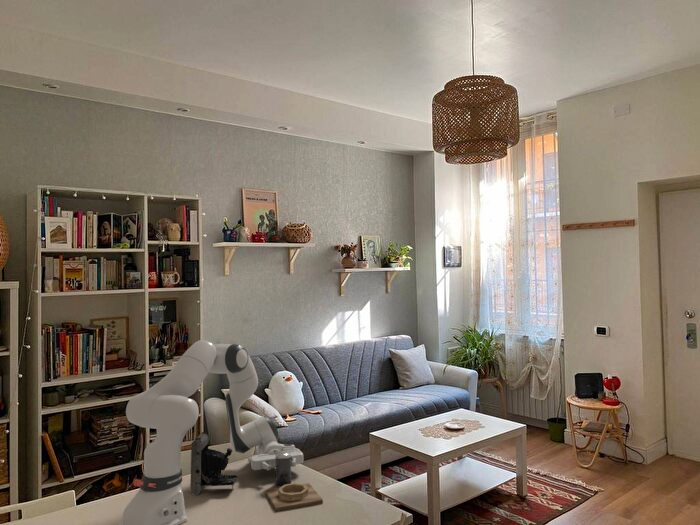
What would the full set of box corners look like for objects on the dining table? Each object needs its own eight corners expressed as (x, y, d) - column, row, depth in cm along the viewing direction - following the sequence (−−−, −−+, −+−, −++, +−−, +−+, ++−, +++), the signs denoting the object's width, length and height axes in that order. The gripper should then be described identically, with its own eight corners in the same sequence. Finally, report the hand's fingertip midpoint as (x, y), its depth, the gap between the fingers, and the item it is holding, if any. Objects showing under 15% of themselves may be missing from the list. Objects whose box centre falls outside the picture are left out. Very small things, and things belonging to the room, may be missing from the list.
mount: (322, 503, 180) (322, 493, 180) (276, 511, 174) (275, 501, 174) (309, 486, 195) (308, 477, 195) (265, 493, 189) (265, 484, 189)
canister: (286, 487, 194) (286, 457, 194) (272, 485, 196) (272, 455, 196) (294, 482, 199) (294, 452, 199) (280, 480, 201) (280, 450, 202)
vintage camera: (232, 497, 188) (234, 439, 188) (189, 495, 188) (191, 438, 189) (239, 486, 197) (240, 432, 198) (197, 485, 198) (199, 431, 198)
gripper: (246, 450, 209) (253, 461, 196) (297, 444, 216) (307, 454, 203) (247, 466, 208) (253, 479, 195) (297, 459, 216) (307, 470, 203)
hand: (281, 466), depth 199 cm, fingers open, 8 cm apart
